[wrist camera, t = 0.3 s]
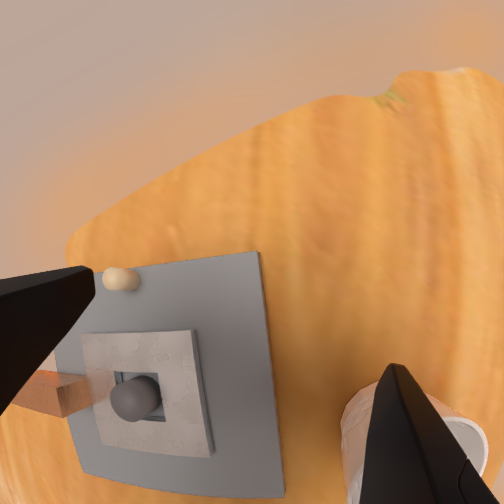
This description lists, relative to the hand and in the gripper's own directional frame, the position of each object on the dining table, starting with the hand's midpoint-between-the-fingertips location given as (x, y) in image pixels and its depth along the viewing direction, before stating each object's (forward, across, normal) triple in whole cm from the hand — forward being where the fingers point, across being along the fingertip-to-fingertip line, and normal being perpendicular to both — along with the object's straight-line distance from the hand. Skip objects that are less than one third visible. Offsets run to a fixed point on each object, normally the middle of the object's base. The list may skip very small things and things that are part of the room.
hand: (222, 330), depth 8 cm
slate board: (+8, +8, +16) cm, 19 cm away
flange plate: (+6, +11, +16) cm, 20 cm away
